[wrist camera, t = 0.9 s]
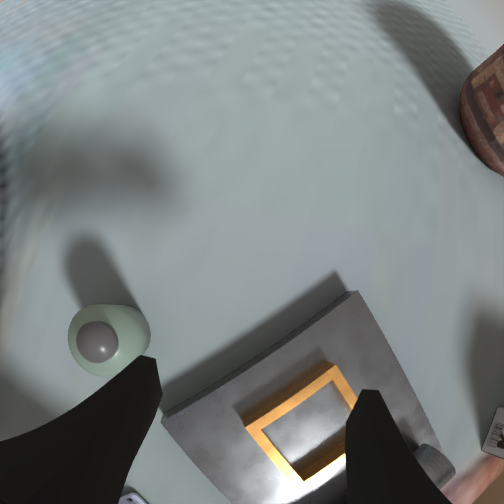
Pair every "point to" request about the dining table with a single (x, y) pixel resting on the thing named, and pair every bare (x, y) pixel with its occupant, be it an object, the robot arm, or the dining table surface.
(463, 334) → the dining table surface
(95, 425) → the robot arm
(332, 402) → the motor base
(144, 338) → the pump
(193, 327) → the dining table surface
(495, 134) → the pottery
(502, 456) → the coffee box
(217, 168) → the dining table surface
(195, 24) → the dining table surface
